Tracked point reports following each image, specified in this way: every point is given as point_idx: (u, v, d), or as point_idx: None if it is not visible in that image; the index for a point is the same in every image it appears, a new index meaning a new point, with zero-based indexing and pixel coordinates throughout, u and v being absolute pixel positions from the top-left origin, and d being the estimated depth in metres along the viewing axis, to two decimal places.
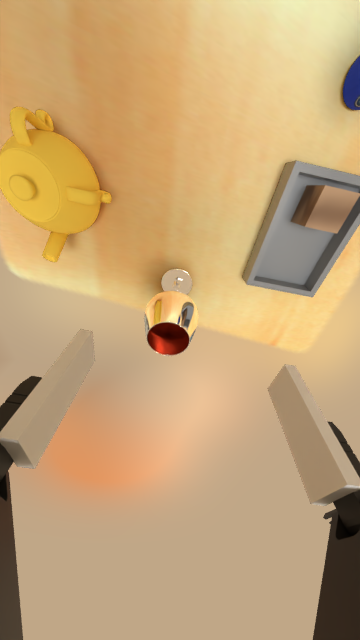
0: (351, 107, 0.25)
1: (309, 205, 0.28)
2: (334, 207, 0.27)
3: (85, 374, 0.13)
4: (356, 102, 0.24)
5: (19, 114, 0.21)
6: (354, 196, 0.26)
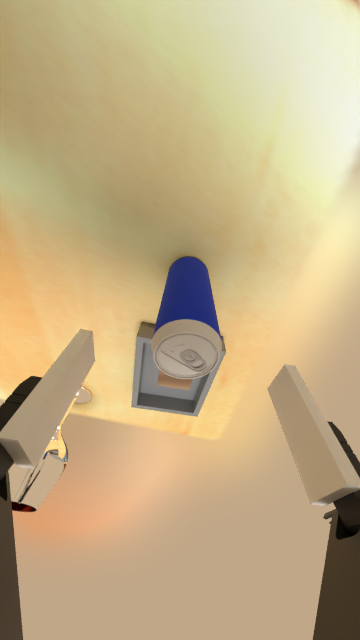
0: None
1: None
2: None
3: (85, 374, 0.13)
4: None
5: None
6: None
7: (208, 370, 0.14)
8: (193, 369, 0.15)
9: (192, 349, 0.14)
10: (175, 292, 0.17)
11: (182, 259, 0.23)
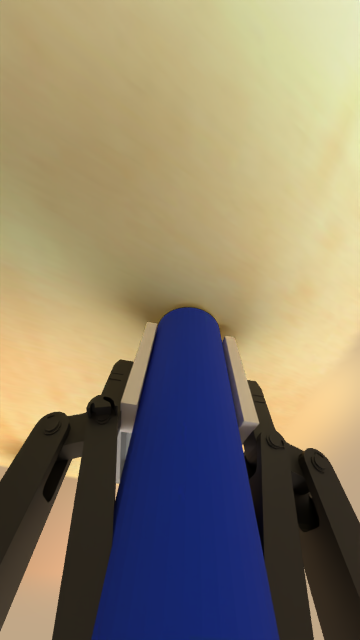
0: None
1: None
2: None
3: None
4: None
5: None
6: None
7: None
8: None
9: None
10: (158, 436, 0.07)
11: (178, 313, 0.14)
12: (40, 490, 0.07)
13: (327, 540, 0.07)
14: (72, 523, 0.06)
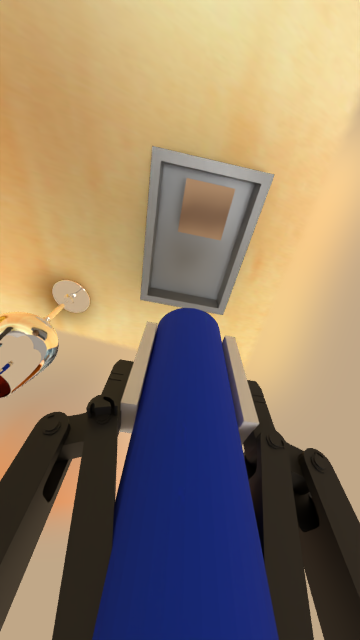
0: None
1: None
2: (206, 207, 0.21)
3: None
4: None
5: None
6: (228, 192, 0.20)
7: None
8: None
9: None
10: (157, 437, 0.07)
11: (178, 314, 0.14)
12: (40, 491, 0.07)
13: (327, 540, 0.07)
14: (72, 523, 0.06)
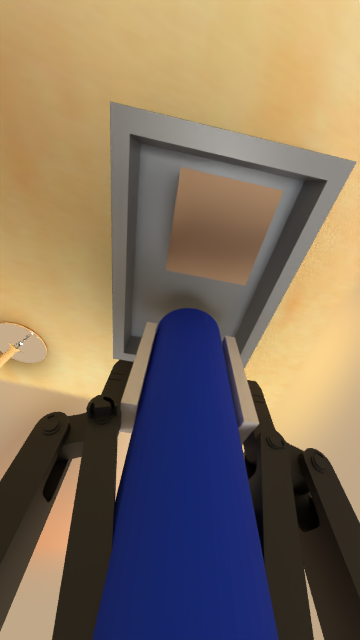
0: None
1: None
2: (221, 226, 0.10)
3: None
4: None
5: None
6: (267, 197, 0.10)
7: None
8: None
9: None
10: (158, 437, 0.07)
11: (178, 314, 0.14)
12: (41, 490, 0.07)
13: (327, 540, 0.07)
14: (72, 523, 0.06)
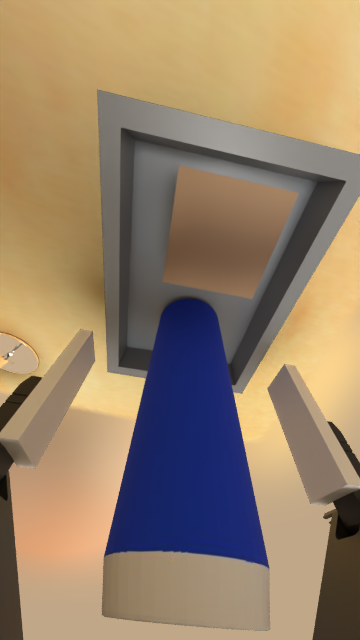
0: None
1: None
2: (225, 234, 0.09)
3: (85, 374, 0.13)
4: None
5: None
6: (279, 200, 0.08)
7: None
8: None
9: None
10: (164, 402, 0.08)
11: (180, 303, 0.15)
12: None
13: None
14: None
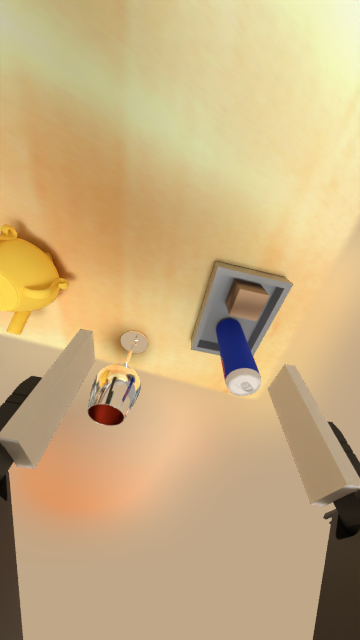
0: None
1: (232, 298, 0.34)
2: (250, 303, 0.33)
3: (85, 374, 0.13)
4: None
5: None
6: (264, 297, 0.32)
7: (253, 391, 0.29)
8: (246, 391, 0.29)
9: (247, 381, 0.28)
10: (233, 349, 0.32)
11: (227, 320, 0.39)
12: None
13: None
14: None
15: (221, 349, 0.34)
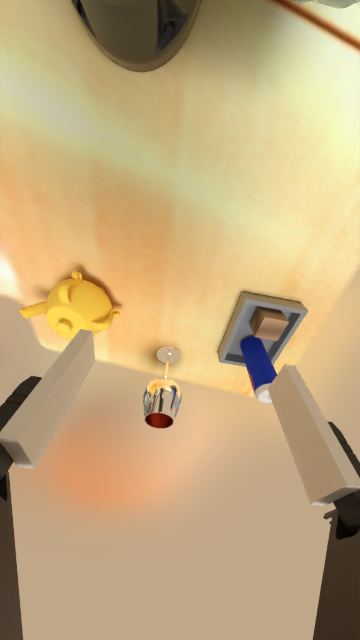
0: None
1: (257, 322, 0.41)
2: (272, 327, 0.39)
3: (85, 374, 0.13)
4: None
5: (64, 290, 0.34)
6: (285, 322, 0.39)
7: None
8: (271, 400, 0.37)
9: None
10: (259, 366, 0.39)
11: (250, 338, 0.46)
12: None
13: None
14: None
15: (248, 364, 0.41)
